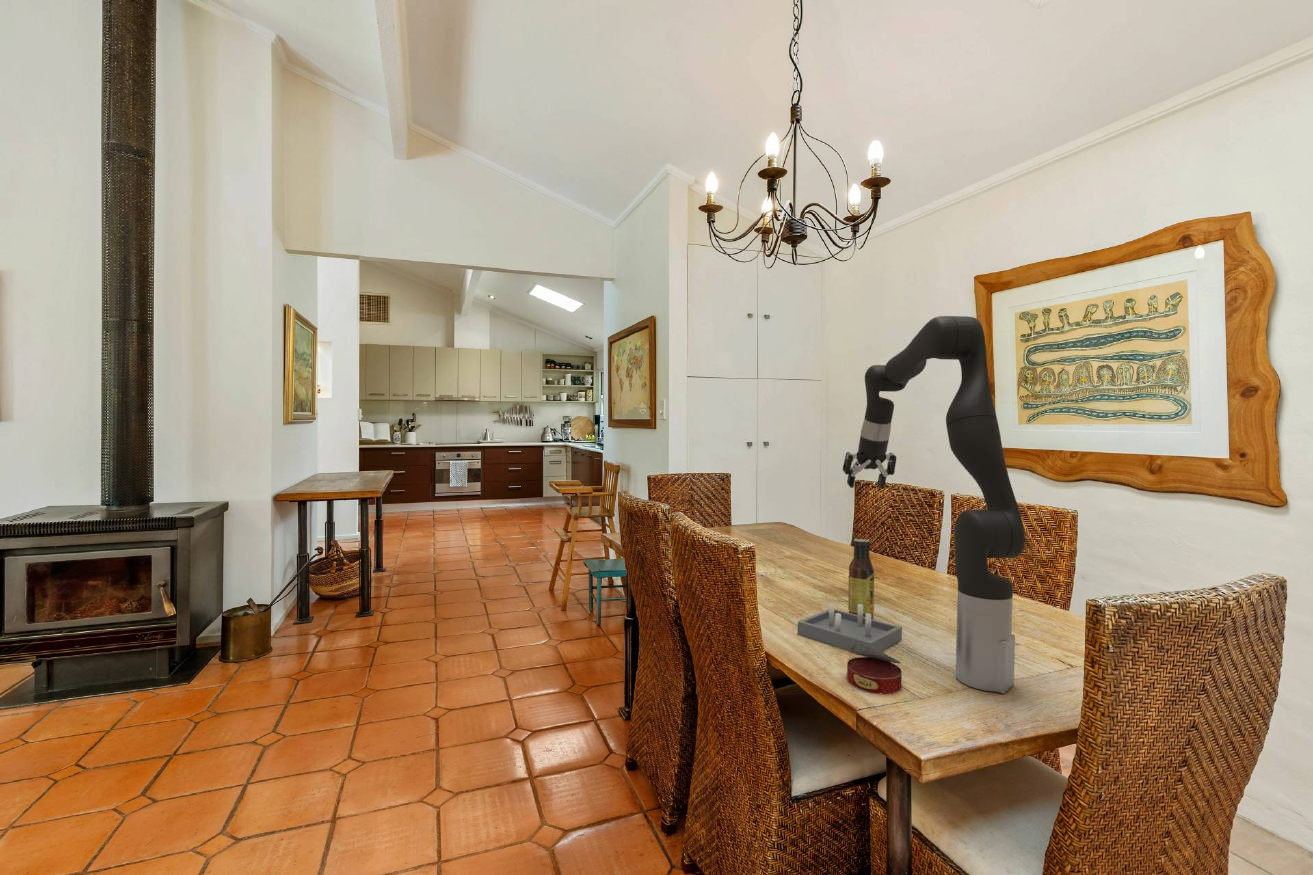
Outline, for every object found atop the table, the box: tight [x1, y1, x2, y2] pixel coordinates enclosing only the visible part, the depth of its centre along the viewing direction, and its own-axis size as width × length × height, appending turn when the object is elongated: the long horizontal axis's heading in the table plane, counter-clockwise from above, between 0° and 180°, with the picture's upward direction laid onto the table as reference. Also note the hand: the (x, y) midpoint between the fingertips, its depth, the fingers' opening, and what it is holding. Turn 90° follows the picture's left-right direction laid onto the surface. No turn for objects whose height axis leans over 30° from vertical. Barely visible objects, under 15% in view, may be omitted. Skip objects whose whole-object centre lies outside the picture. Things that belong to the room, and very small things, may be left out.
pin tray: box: [797, 603, 903, 652], centre depth 134 cm, size 18×15×6 cm
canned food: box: [846, 642, 903, 695], centre depth 111 cm, size 11×10×10 cm
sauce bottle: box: [847, 538, 875, 619], centre depth 148 cm, size 6×6×20 cm
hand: (865, 486), depth 168 cm, fingers open, 8 cm apart
